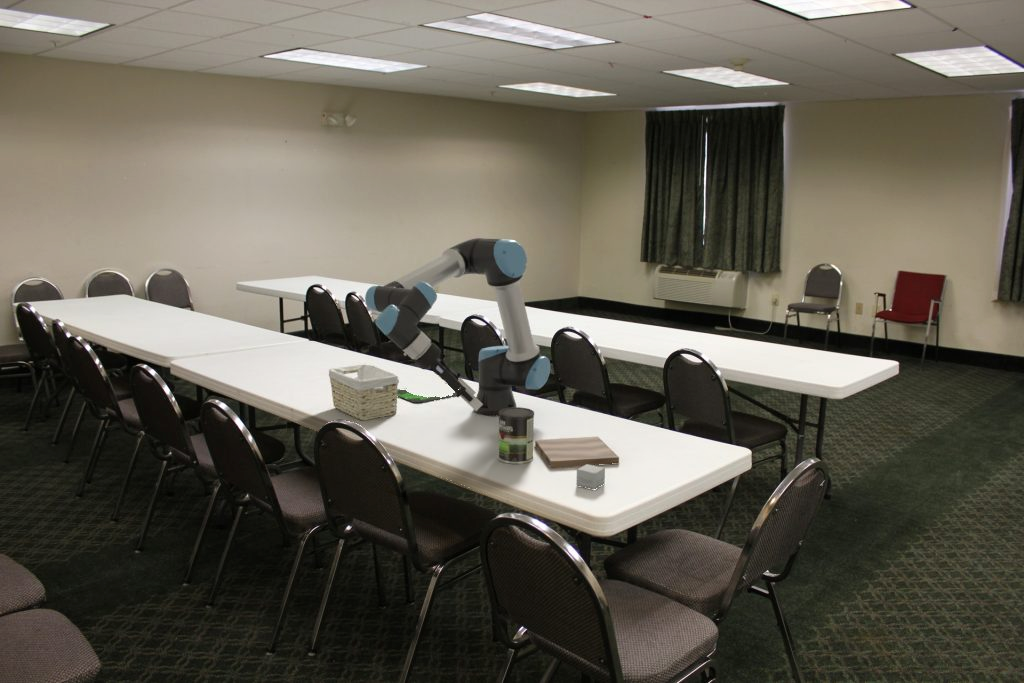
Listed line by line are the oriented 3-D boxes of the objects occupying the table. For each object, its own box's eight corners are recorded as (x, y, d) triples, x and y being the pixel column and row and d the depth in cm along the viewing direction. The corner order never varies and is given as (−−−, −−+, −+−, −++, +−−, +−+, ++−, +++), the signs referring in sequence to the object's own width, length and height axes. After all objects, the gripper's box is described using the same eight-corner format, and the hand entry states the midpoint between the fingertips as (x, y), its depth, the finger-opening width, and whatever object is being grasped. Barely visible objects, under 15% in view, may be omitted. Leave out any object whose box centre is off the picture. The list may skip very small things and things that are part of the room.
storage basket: (401, 415, 274) (400, 374, 272) (359, 423, 265) (358, 380, 262) (368, 401, 293) (367, 362, 290) (328, 408, 283) (326, 368, 280)
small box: (605, 485, 209) (605, 467, 208) (594, 491, 205) (595, 473, 204) (586, 480, 212) (586, 463, 212) (575, 486, 208) (576, 469, 207)
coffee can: (512, 466, 223) (512, 418, 220) (491, 457, 231) (491, 410, 228) (540, 459, 229) (541, 412, 226) (519, 450, 237) (519, 405, 234)
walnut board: (535, 446, 241) (535, 440, 241) (597, 442, 245) (598, 436, 244) (551, 468, 222) (551, 461, 221) (618, 463, 226) (619, 457, 225)
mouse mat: (443, 383, 323) (443, 381, 322) (475, 394, 306) (475, 391, 306) (385, 393, 305) (385, 391, 305) (416, 405, 289) (416, 402, 289)
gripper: (410, 352, 232) (461, 400, 237) (416, 369, 208) (472, 422, 213) (428, 334, 232) (478, 382, 237) (436, 349, 208) (492, 402, 213)
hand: (476, 401), depth 225 cm, fingers open, 13 cm apart
